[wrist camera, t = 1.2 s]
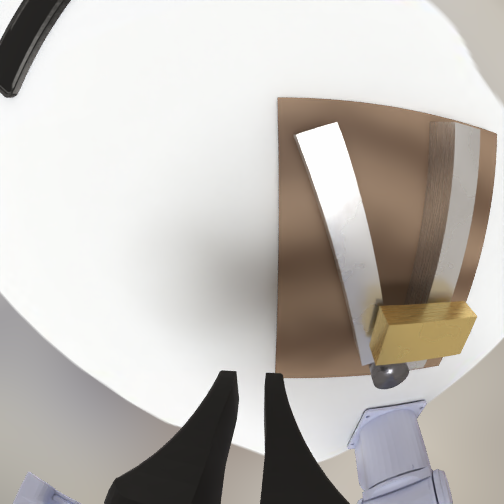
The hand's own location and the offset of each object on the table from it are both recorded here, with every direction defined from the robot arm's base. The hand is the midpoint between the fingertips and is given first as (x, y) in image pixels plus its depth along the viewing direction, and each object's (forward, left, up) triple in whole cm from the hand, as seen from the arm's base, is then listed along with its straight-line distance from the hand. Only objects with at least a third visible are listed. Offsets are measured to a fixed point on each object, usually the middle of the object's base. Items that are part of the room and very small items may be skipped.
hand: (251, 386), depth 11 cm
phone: (+25, +20, -10) cm, 34 cm away
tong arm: (+3, -5, -8) cm, 10 cm away
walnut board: (+2, -9, -9) cm, 13 cm away
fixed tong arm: (+2, -10, -8) cm, 13 cm away
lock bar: (-1, -10, -5) cm, 11 cm away
